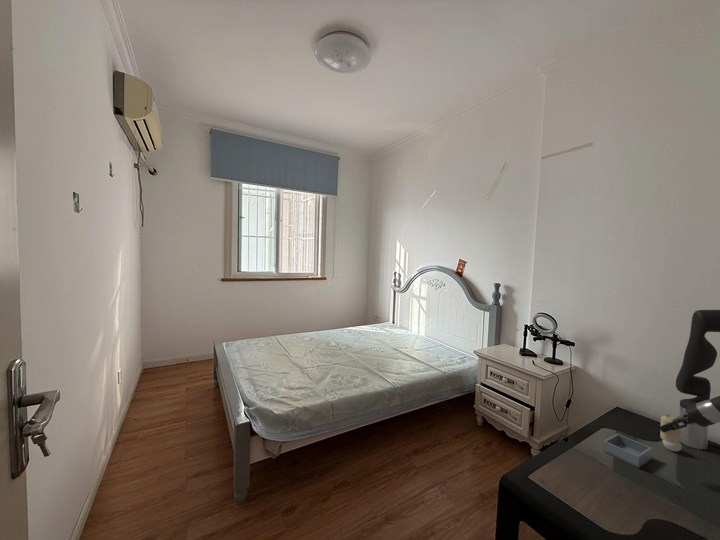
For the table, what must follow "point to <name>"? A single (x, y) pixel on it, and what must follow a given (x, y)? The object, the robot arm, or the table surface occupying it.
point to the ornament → (672, 445)
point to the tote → (627, 450)
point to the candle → (669, 435)
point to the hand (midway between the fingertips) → (664, 427)
